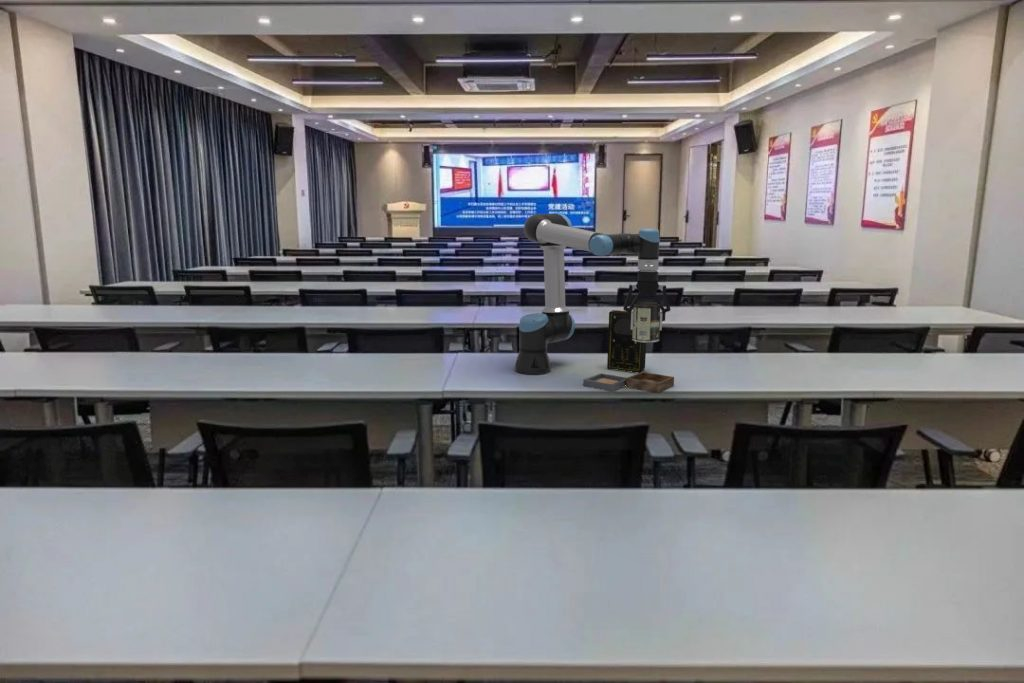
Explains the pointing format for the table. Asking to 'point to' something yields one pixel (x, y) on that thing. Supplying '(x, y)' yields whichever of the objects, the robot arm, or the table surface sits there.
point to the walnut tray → (650, 382)
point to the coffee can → (646, 322)
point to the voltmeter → (624, 344)
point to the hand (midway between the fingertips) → (646, 329)
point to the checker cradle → (605, 382)
